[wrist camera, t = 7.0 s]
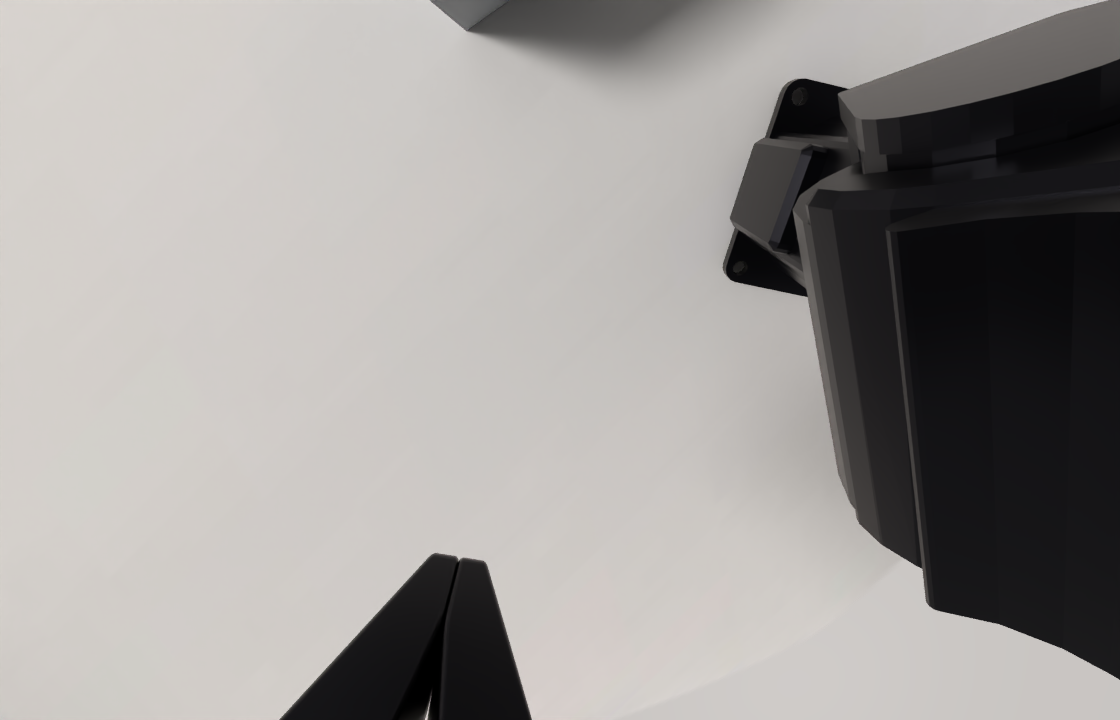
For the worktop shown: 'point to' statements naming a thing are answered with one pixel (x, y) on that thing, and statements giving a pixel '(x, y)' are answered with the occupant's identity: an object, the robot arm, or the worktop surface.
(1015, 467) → the robot arm
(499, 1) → the slate block one
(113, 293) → the worktop surface
